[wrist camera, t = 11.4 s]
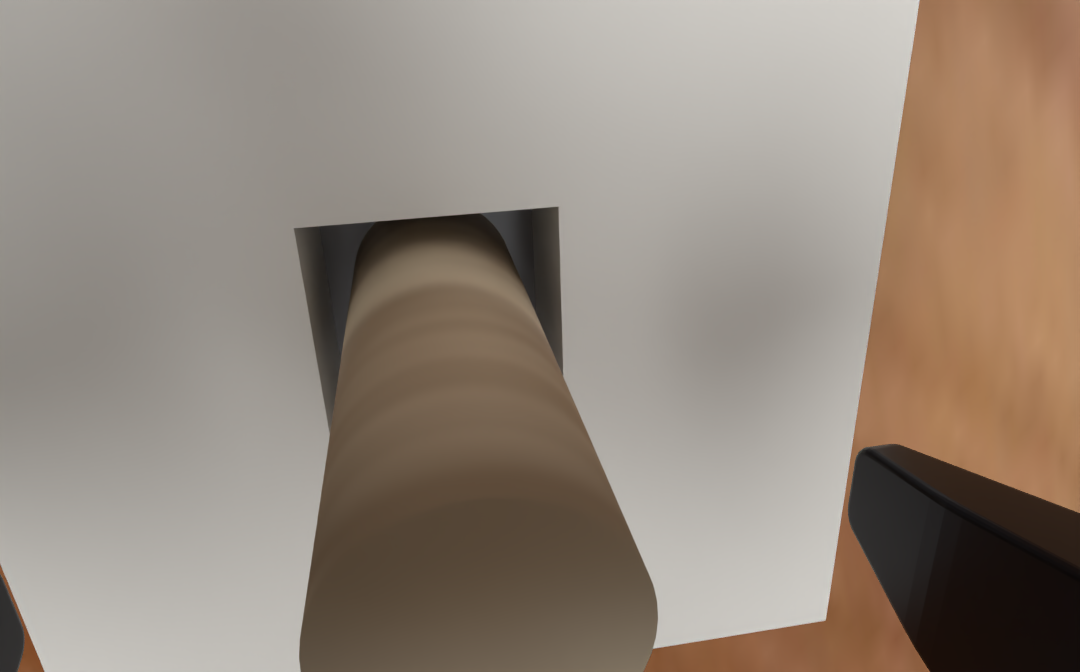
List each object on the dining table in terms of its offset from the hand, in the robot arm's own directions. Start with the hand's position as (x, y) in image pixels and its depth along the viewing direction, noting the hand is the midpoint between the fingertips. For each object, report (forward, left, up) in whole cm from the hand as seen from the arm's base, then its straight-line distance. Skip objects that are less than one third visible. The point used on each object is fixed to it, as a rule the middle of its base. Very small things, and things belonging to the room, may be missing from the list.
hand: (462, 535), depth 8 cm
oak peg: (0, 0, -8) cm, 9 cm away
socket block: (0, 0, -10) cm, 10 cm away
